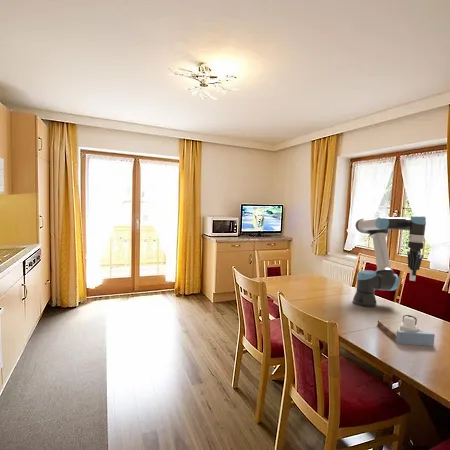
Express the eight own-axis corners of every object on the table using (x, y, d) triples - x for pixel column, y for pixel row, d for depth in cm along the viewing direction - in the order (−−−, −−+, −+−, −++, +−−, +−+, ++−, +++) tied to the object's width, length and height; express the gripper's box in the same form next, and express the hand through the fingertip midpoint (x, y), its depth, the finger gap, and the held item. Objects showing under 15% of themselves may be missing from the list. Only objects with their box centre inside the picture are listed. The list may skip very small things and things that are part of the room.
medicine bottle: (400, 334, 154) (402, 312, 153) (416, 338, 150) (418, 316, 149) (399, 338, 148) (401, 316, 148) (415, 343, 144) (417, 320, 143)
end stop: (396, 341, 145) (397, 330, 144) (430, 344, 144) (432, 332, 143) (398, 343, 143) (399, 332, 142) (433, 345, 142) (434, 334, 141)
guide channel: (377, 325, 165) (377, 320, 165) (407, 327, 164) (408, 322, 164) (396, 341, 145) (396, 336, 145) (430, 344, 144) (431, 338, 144)
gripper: (403, 239, 175) (400, 277, 177) (415, 242, 162) (411, 283, 164) (416, 240, 174) (412, 277, 176) (429, 243, 161) (425, 283, 163)
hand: (412, 280), depth 170 cm, fingers closed
